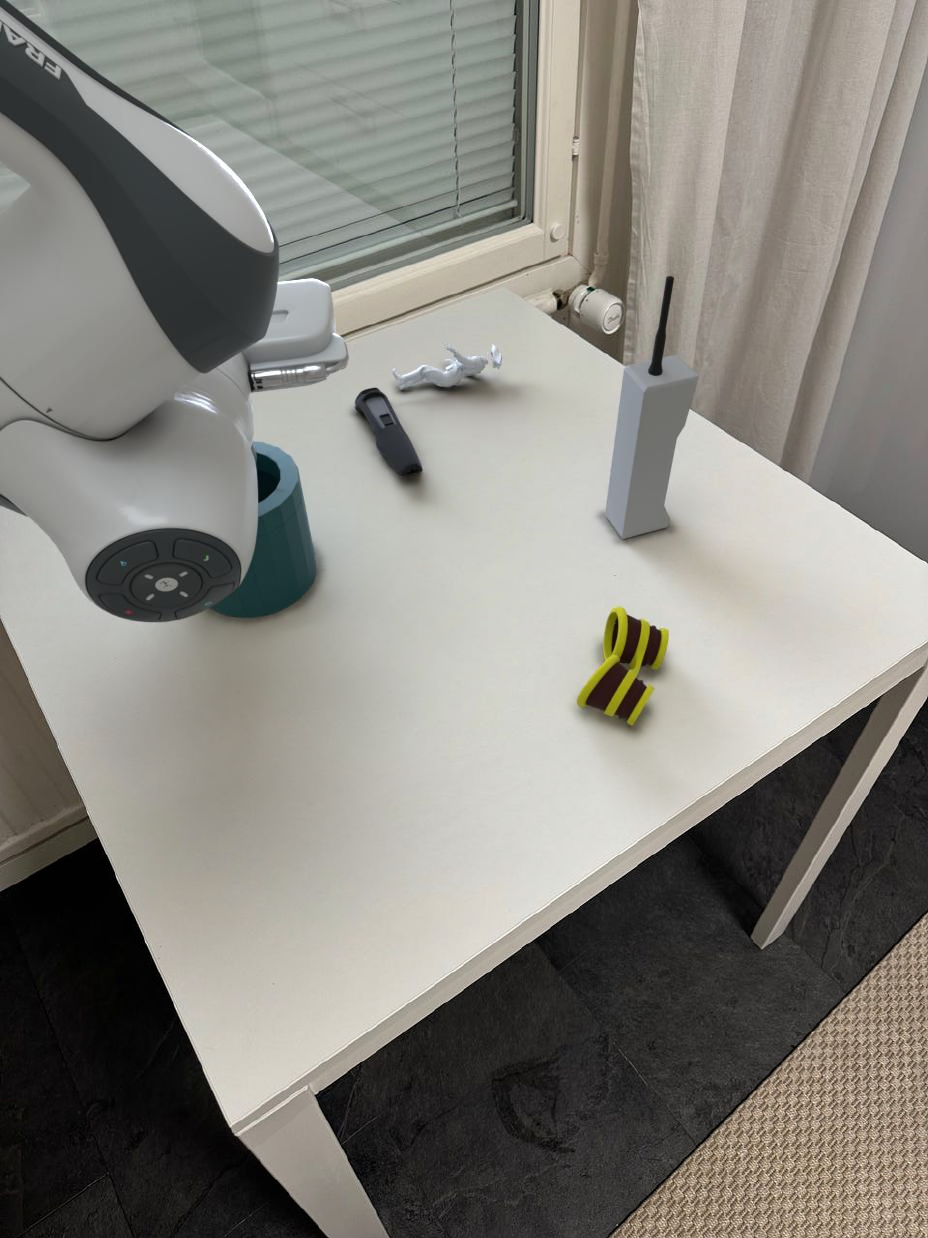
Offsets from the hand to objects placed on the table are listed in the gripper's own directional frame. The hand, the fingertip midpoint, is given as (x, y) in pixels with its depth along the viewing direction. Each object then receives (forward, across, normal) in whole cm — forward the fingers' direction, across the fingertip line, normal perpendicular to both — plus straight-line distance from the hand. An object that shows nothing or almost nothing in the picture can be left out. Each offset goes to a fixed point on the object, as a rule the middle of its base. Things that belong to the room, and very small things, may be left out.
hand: (179, 283), depth 61 cm
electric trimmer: (+18, -15, +29) cm, 37 cm away
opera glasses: (-19, -29, +29) cm, 45 cm away
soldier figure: (+27, -23, +29) cm, 46 cm away
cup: (0, 0, +28) cm, 28 cm away
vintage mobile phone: (0, -36, +29) cm, 46 cm away
